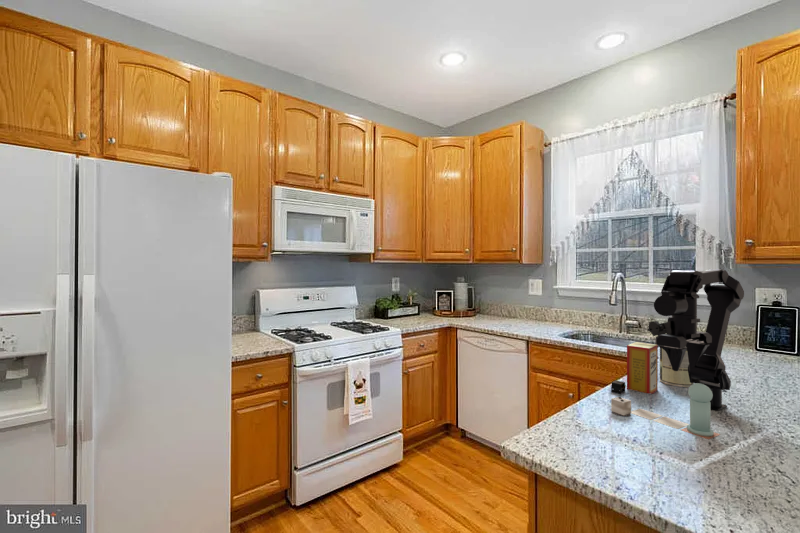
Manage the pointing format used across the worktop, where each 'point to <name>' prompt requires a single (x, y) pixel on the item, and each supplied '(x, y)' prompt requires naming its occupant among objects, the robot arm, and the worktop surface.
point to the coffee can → (674, 377)
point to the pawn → (700, 410)
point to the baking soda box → (642, 367)
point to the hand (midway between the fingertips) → (683, 368)
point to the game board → (647, 415)
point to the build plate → (617, 386)
